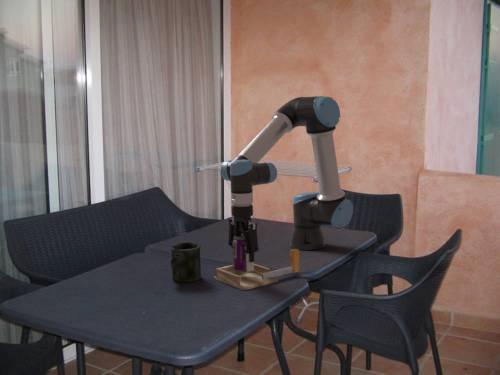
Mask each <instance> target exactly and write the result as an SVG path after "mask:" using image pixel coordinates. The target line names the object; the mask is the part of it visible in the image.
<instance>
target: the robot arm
mask: <svg viewBox="0 0 500 375" xmlns="http://www.w3.org/2000/svg"><path fill="white" fill-rule="evenodd" d="M340 118H341V110H340V107H339V105H338V102H337V101H336V100H335V99H333V98H332V97H330V96H324V95H318V96H317V95H315V96H299V97H294V98H293V99H290V100H289V101H287V102H286V103H284V104H283V105H282V106H280V107H279V108H278V109H277V110H276V111H275V112H274V113H273V114H272V116H271V120H270V121H269V122H268V123H267V124H266V125H265V126H264V127H263V128H262V129H261V131H259V133H258V134H257V135H256V136H255V137H254V138H253V139H252V140H251V141H250V142H249V143H248V144H246V146H245V147H244V149H243V150H241V152H239V154H238V155H237V156H236V157H235V158H234V159H232V160H226V161H224V162H222V164H221V165H220V168H219V172H220V176H221V178H222V179H223V180H224V181H229V182H230V193H231V194H230V200H231V201H230V203H231V204H232V205H230V206H231V209H230V211H231V216H232V217H233V218H229V219H228V225H229V226H228V227H229V228H228V246H229V247H231V249H233V240H234V236H240V235H244V239H245V242H246V247H247V251H248V252H246V266H247V272H249V271H253V270H254V264H255V253H257V252H259V241H258V231H257V230H258V224H257V223H256V222H252V218H251V217H252V216H254V206H253V203H254V195H253V190H254V189H253V187H254V186H260V185H268V184H271V183H273V182H275V181H276V180H277V177H278V169H277V167H276V166H275V164H274V163H272V162H265V161H264V162H260V161H261V160H262V159H263V158H264V157H265V156H266V155H267V154H268V153H269V151H270V150H272V148H274V146H275V145H276V144H277V143H278V142H279V140H281V139H282V138H283V137H284V136H285V134H287V133H291V131H293V130H294V129H295V128H297V127H305V131H306V134H307V135H308V136H310V139H311V144H312V151H313V157H314V164H315V171H316V177H317V183H318V191H312V192H304V193H303V192H302V193H298V194H296V195H294V197H293V203H292V208H293V209H292V210H293V213H292V214H293V231H292V233H291V238H290V240H289V247H290V248H291V249H298V250H299V251H300V250H301V251H314V250H315V251H316V250H321V249H323V248H326V240H325V237H324V233H323V231H322V226H328V227H333V228H344V227H346V226H347V225H348V224H349V223H350V221H351V220H352V217H353V213H354V205H353V202H352V200H350V199H347V198H346V192H345V191H344V190H342V189H341V182H340V176H339V169H338V168H339V167H338V161H337V155H336V148H335V140H334V135H333V134H334V132H335V131H336V129H337V127H336V126H337V125H338V124H339V122H340ZM250 249H251V250H250Z"/></svg>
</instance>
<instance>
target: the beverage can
mask: <svg viewBox="0 0 500 375" xmlns="http://www.w3.org/2000/svg"><path fill="white" fill-rule="evenodd" d="M250 250H251V249H250ZM246 252H248V251H247V247H246V242H245V239H244V235H243V234H241V235H240V236H234V240H233V248H232V261H233V262H232V265H233V268H234V269H235V270H237V271H239V272H247V266H246Z"/></svg>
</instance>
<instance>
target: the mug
mask: <svg viewBox="0 0 500 375" xmlns="http://www.w3.org/2000/svg"><path fill="white" fill-rule="evenodd" d="M201 248H202V245H201V244H200V243H197V242H191V241H190V242H179V243H174V244H171V245H170V248H169V249H170V250H171V260H170V268H171V272H172V280H174V281H175V282H178V283H191V282H195V281H198V280H200V278H201V277H202V270H201Z"/></svg>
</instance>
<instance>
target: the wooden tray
mask: <svg viewBox="0 0 500 375" xmlns="http://www.w3.org/2000/svg"><path fill="white" fill-rule="evenodd" d="M214 271H215V275H214V276H213V280H215V281H216V280H217V281H218V282H220V283H224V284H227V285H229V286H232V287H234V288H236V289H240V290H242V291H247V290H251V289H255V288H258V287H263V286H267V285H271V284H274V283H277V282H279V278H277V277H273V278H269V279H265V280H263V279H262V273H266V272H270V271H271V268H270V267H266V266H263V265H259V264H257V263H254V270H253V271H249V272H239V271H237V270H235V269H234V268H233V264H230V265H225V266H222V267H217V268H215V270H214Z"/></svg>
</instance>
